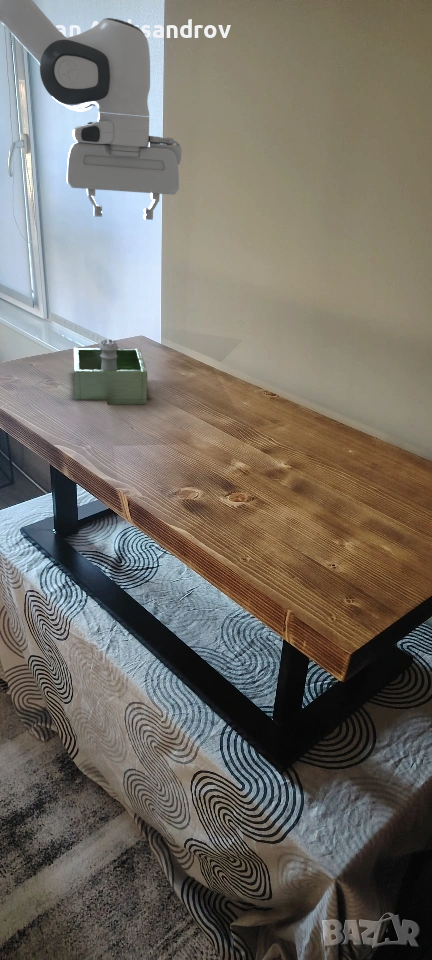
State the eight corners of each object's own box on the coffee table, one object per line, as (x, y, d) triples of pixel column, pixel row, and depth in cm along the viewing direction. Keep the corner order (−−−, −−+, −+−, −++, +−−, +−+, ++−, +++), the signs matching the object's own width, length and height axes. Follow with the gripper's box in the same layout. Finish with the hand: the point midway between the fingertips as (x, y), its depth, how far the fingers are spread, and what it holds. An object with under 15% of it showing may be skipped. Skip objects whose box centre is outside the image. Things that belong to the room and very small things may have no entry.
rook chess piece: (91, 388, 107) (90, 343, 103) (102, 380, 110) (101, 336, 106) (116, 393, 106) (116, 347, 102) (126, 384, 110) (126, 340, 106)
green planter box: (75, 404, 102) (74, 371, 99) (74, 379, 112) (73, 347, 109) (146, 404, 105) (147, 371, 102) (139, 379, 114) (140, 348, 112)
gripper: (179, 138, 115) (175, 218, 122) (65, 128, 111) (68, 212, 118) (184, 139, 110) (180, 223, 117) (65, 129, 105) (68, 217, 112)
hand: (123, 217), depth 117 cm, fingers open, 8 cm apart
